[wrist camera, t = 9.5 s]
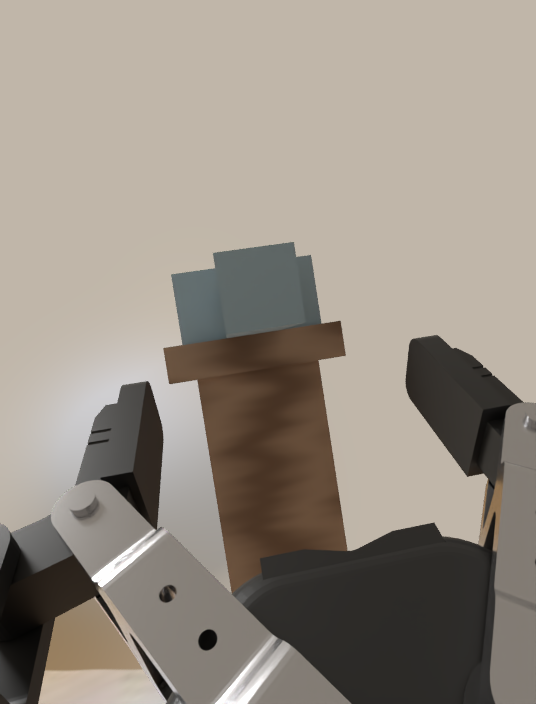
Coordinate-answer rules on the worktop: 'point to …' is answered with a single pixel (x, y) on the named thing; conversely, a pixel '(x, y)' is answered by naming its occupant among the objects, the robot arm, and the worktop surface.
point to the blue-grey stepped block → (247, 294)
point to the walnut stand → (267, 440)
